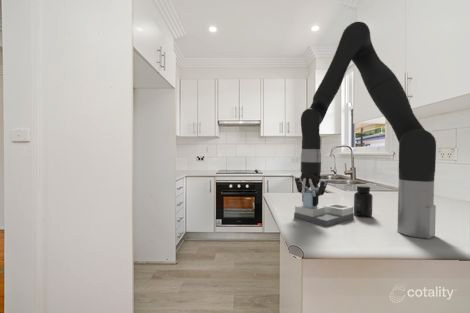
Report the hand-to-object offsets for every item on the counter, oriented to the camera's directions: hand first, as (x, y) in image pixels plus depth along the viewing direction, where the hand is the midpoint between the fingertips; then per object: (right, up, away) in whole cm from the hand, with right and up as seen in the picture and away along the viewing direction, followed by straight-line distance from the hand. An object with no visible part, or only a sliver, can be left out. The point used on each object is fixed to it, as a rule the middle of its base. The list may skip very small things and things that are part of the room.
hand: (310, 204), depth 97 cm
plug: (0, -3, 0) cm, 3 cm away
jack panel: (+6, -5, +1) cm, 8 cm away
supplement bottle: (+23, -6, +6) cm, 25 cm away
